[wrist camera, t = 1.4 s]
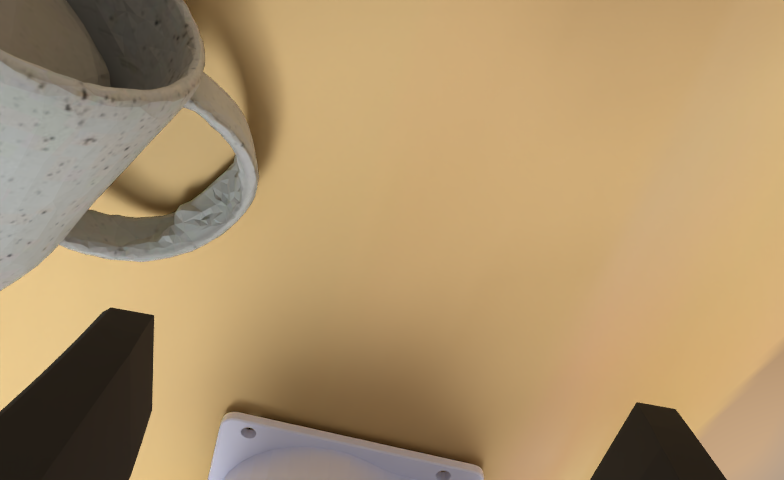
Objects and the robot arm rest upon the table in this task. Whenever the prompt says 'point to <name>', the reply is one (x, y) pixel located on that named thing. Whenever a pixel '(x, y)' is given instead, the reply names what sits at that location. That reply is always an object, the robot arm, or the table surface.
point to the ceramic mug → (104, 128)
